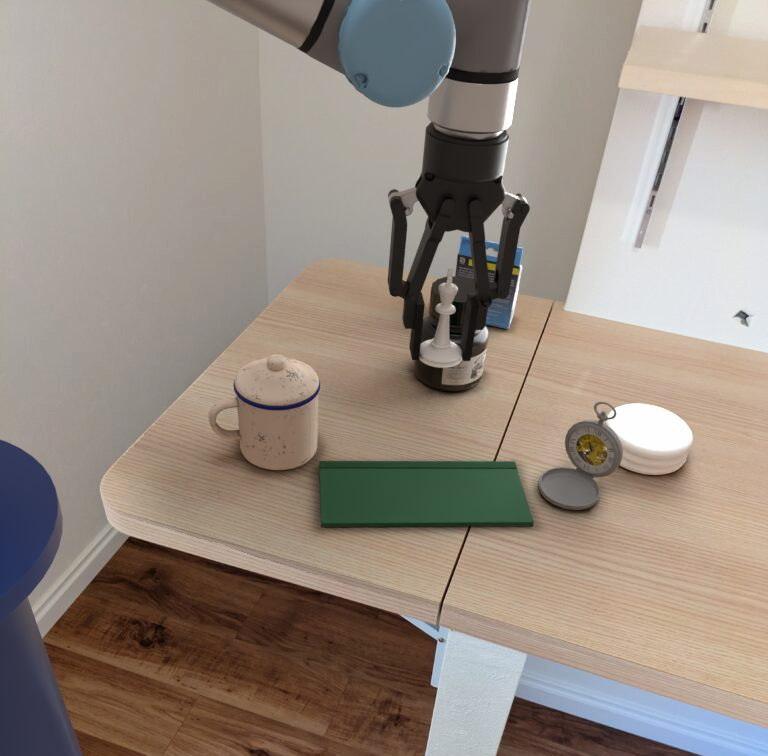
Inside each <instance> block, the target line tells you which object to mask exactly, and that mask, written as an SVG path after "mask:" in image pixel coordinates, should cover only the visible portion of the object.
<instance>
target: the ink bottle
mask: <svg viewBox="0 0 768 756" xmlns="http://www.w3.org/2000/svg"><path fill="white" fill-rule="evenodd" d="M442 283H447V276H443V277H440V278H437V279H436V280H435V281H433V282H432V283H431V287H430V296H429V303H428V315H427V316H425V317H423V327H422V336H421V343H423V342H425V341H427V340H431V339H433V338H434V337H435V334H436V330H437V326H438V322H439V318H440V313H438V312H437V311H436V310H435V308H436V306H437V304H439V303H441V299H440V293H439V289H438V287H439V285H440V284H442ZM452 284H455V285H456V286H457V287H458V291H457V294H456V295H455V297H454V300H453V302H452V303H451V304H452V305H454V306H455V309H456V312H455V313H453V314H450V315H449V340H450V341H451V342H453V343H455V344H457V345H458V346H459V347H460V343H461V337H462V330H463V323H464V316H465V309H466V302H467V295H468V293H472V294H475V295H476V290H475V282H474V280H473V279H470V278H467V277H459V276H455V275H452ZM489 336H490V335H489V329H488V327H487V325H485V327H484V329H483V330H475V335H474V341H473V348H472V354H471V360H470V361H463V357H462V361H461V362H460V363H459V364H458V365H456V366H453V367H448V368H438V367H433V366H429V365H427V364H425V363H423V362H422V361H421V360H420V359H419V360H414V365H413V372H414V374H415V376H416V377H417V378H418V379H419V380H420V381H421V382H422V383H423V384H425V385H427V386H429V387H431V388H435V389H437V390H441V391H446V392H459V391H460V392H461V391H466V390H468V389H471V388H473V387H474V386H476V385H477V384H478V383H479V382H480V381H481V379H482V377H483V374H484V367H485V362H486V355H487V351H488V343H489Z"/></svg>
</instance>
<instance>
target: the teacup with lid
mask: <svg viewBox="0 0 768 756" xmlns="http://www.w3.org/2000/svg"><path fill="white" fill-rule="evenodd" d="M320 390H321V381H320V378H319V376H318V374H317V373H316V371H315V370H314V369H313V368H312V367H311V366H310V365H308V364H306V363H305V362H303V361H301V360H298V359H294V358H289V357H285V356H284V355H283V354H279V353H273V354H271V355H269V356H267V357H263V358H259V359H256V360H253V361H250V362H249V363H247V364H245V365H244V366H242V367H241V368H240V369H239V371H237V373H236V375H235V377H234V380H233V391H234V393H235V396H236V397H228V398H224V399H221V400H218V401H216V402H215V403H214V404H213V405H212V406H211V407H210V409H209V411H208V423H209V425H210V428H211V429H212V431H213V432H214V433H215V435H217V436H218V437H220V438H221V439H224V440H229V441H232V440H233V441H235V440H237V441H238V440H239V447H240V452H241V454H242V456H243V457H244V458H245V460H246V461H248V462H249V463H250V464H252V465H254V466H255V467H258V468H261V469H265V470H270V471H287V470H292V469H295V468H299V467H301V466H303V465H305V464H307V463H308V462H310V460H312V458H313V457H314V456H315V455H316V453H317V450H318V438H319V437H318V435H319V433H318V431H319V429H318V428H319V416H318V415H319V392H320ZM235 408H236V409H237V421H238V429H231V430H230V429H225V428H223V427H221V426H220V425H219V424H218V423H217V417H218V415H219V414H220V413H221V412H222V411H225V410H227V409H228V410H229V409H235Z"/></svg>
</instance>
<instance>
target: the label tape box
mask: <svg viewBox="0 0 768 756" xmlns="http://www.w3.org/2000/svg"><path fill="white" fill-rule="evenodd" d="M485 247H486V251H488V250H489V249H491V250H492V251H493V252H496V253H498V249H499V242H494V241H489V240H485ZM523 252H524V248H523V247H520V246H517V250H516V256H515V262H514V267H513V273H512V279H511V285H510V291H509V295H508V297H507V298H505V299H500V298H497V299H494V300H492V304H491V306H490V307H488V312H487V317H486V324H485V326H490V327H491V326H492V327H495V328H499V329H505V330H509V329H510V327H511V323H512V321H513V318H514V314H515V309H516V304H517V298H518V294H519V288H520V281H521V276H522V271H523V265H522V264H521V262H522V257H523ZM486 257H487V266H488V276H489V283H490V282H493V281H494V274H495V268H496V262H497V255H491V254H488V253H486ZM455 265H456V266H455V274H454V276H459V277H467V278H470V279H473V280H474V274H473V265H472V257H471V248H470V240H469V236H467V235H463V234H461V236H460V242H459V248H458V252H457V256H456V264H455Z"/></svg>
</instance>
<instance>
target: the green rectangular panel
mask: <svg viewBox="0 0 768 756" xmlns="http://www.w3.org/2000/svg"><path fill="white" fill-rule="evenodd" d="M318 467H319V468H318V470H319V471H318V472H319V473H318V474H319V505H320V506H319V507H320V509H319V510H320V527H321V528H418V527H419V528H422V527H423V528H426V527H427V528H430V527H433V528H435V527H436V528H437V527H438V528H439V527H440V528H442V527H444V528H445V527H449V528H450V527H451V528H452V527H533V526H534V523H535V521H534V518H533V515H532V512H531V511H532V510H531V508H530V506H529V503H528V499H527V496H526V493H525V489H524V487H523V483H522V480H521V477H520V474H519V471H518V467H517V464H516V461H513V460H512V461H509V460H508V461H507V460H506V461H505V460H504V461H503V460H502V461H499V460H497V461H495V460H494V461H493V460H490V461H489V460H488V461H487V460H485V461H484V460H483V461H482V460H480V461H477V460H476V461H474V460H472V461H471V460H467V461H466V460H464V461H463V460H462V461H461V460H459V461H457V460H445V461H444V460H441V461H440V460H319V463H318Z"/></svg>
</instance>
